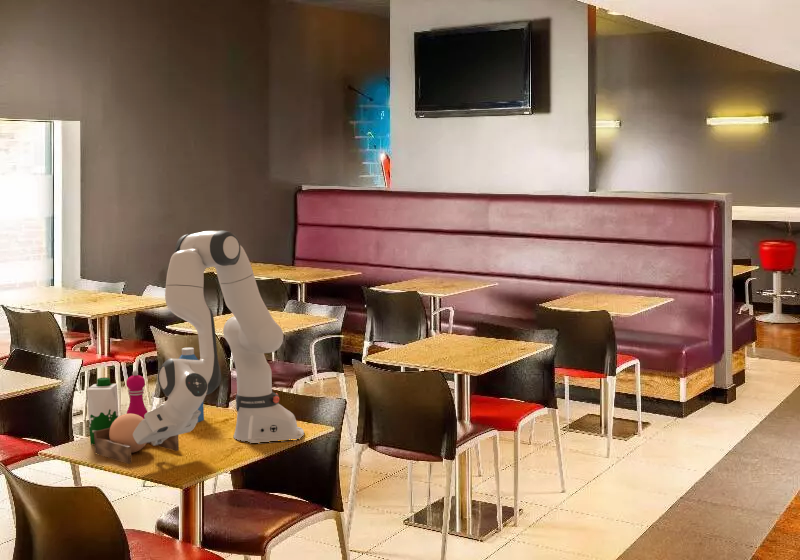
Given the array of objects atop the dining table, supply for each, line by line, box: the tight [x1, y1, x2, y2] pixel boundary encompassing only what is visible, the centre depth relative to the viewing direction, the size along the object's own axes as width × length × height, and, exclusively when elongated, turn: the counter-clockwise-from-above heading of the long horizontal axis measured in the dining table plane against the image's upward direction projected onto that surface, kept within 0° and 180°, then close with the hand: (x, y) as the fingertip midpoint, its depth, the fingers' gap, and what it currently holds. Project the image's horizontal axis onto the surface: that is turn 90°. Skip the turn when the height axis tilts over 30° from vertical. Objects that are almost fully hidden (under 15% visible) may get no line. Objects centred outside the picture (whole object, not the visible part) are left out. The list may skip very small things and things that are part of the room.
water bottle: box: [178, 347, 205, 423], centre depth 357 cm, size 9×9×25 cm
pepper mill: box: [125, 370, 148, 419], centre depth 345 cm, size 7×7×20 cm
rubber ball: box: [109, 413, 147, 454], centre depth 318 cm, size 12×12×12 cm
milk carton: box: [86, 377, 119, 445], centre depth 331 cm, size 9×9×20 cm
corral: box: [94, 428, 180, 464], centre depth 319 cm, size 17×18×7 cm
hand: (155, 442), depth 312 cm, fingers closed
